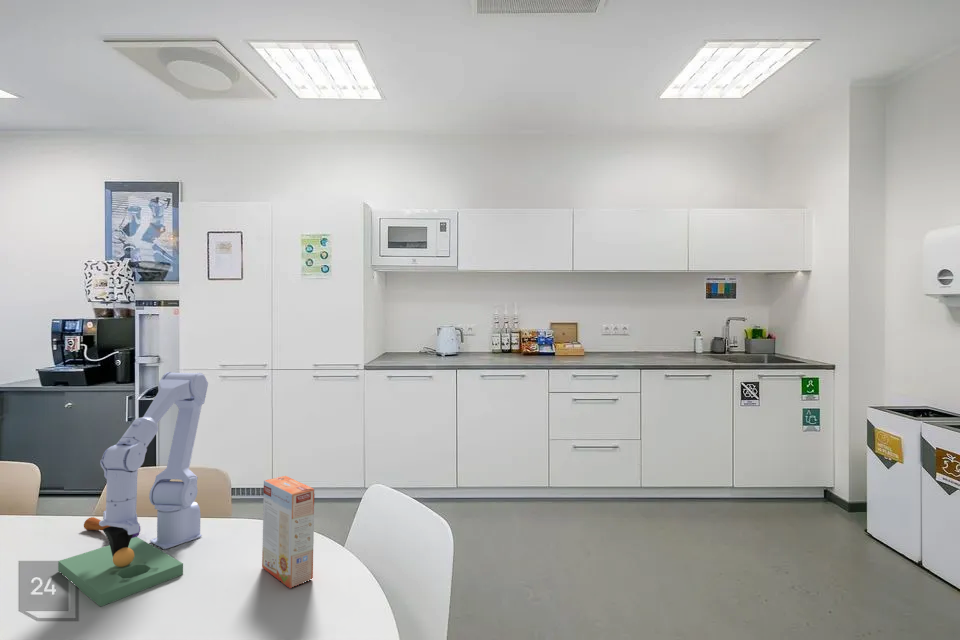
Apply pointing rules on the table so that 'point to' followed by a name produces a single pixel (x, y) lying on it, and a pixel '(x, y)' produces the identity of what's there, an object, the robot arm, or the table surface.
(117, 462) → the robot arm
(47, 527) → the table surface
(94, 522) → the kendama
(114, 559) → the ball
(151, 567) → the putting mat
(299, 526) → the cracker box
